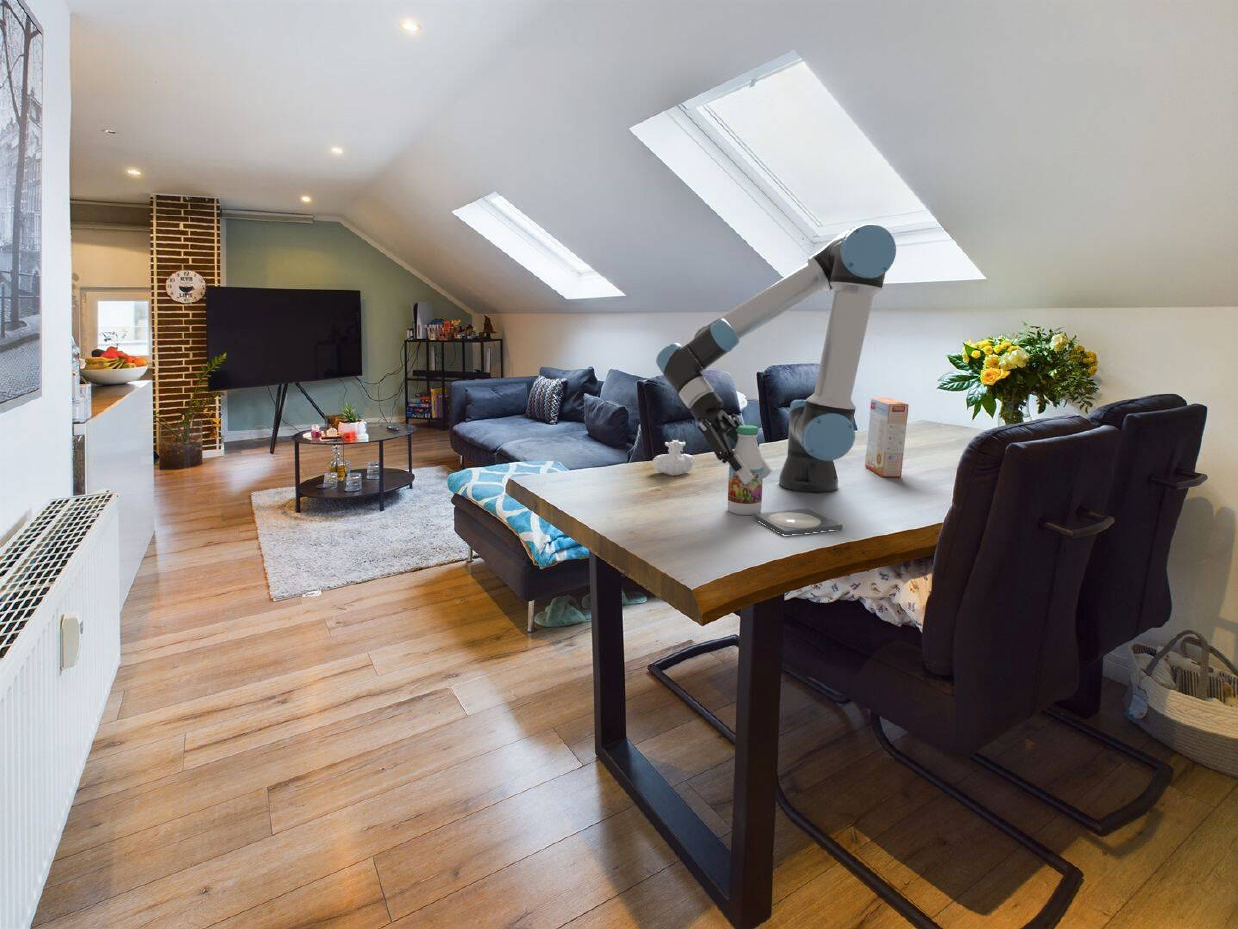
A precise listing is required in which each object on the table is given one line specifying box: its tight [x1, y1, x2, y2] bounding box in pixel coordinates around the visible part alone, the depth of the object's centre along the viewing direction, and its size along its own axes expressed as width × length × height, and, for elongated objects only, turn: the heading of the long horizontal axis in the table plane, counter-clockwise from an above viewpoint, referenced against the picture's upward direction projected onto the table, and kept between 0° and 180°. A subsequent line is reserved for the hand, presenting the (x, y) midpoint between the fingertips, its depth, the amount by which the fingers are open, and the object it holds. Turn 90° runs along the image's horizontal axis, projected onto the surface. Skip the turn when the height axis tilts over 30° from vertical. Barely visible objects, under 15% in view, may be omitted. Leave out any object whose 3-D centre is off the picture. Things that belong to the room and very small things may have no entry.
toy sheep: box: [652, 439, 696, 476], centre depth 192 cm, size 12×8×11 cm
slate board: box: [752, 507, 844, 535], centre depth 148 cm, size 14×13×1 cm
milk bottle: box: [727, 424, 764, 516], centre depth 155 cm, size 8×8×20 cm
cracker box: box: [864, 397, 910, 478], centre depth 195 cm, size 14×6×21 cm, turn 179°
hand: (758, 477), depth 153 cm, fingers closed on milk bottle, 7 cm apart
